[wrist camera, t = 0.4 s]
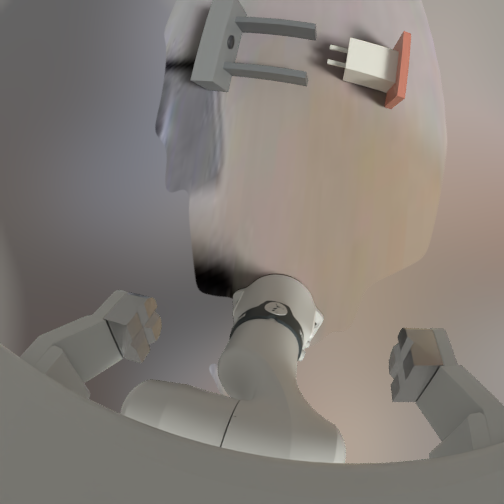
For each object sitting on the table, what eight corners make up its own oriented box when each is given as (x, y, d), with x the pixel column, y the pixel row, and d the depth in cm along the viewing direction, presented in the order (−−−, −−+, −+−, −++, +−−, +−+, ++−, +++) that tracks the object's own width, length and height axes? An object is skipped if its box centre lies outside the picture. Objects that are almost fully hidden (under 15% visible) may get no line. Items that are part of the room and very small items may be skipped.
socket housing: (303, 103, 44) (299, 92, 37) (208, 90, 47) (190, 80, 40) (319, 21, 38) (317, 1, 31) (227, 14, 41) (213, -4, 34)
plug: (390, 109, 41) (404, 98, 32) (323, 91, 43) (323, 75, 34) (397, 53, 37) (411, 33, 28) (333, 36, 38) (334, 12, 29)
